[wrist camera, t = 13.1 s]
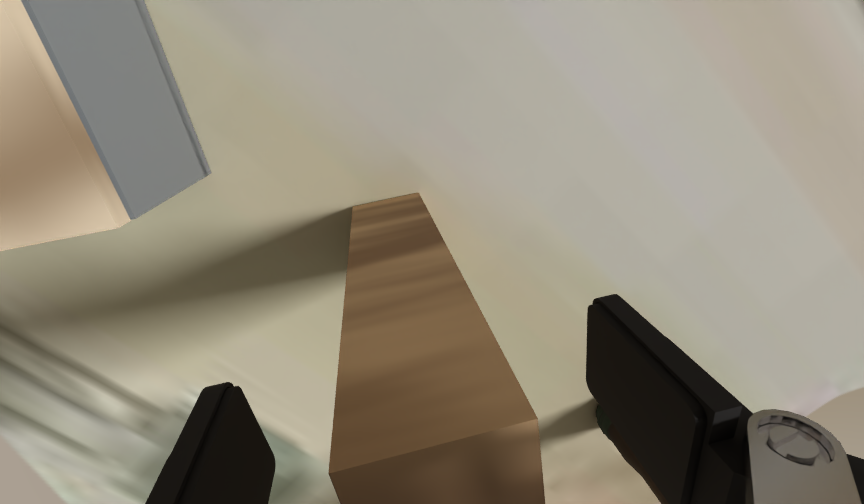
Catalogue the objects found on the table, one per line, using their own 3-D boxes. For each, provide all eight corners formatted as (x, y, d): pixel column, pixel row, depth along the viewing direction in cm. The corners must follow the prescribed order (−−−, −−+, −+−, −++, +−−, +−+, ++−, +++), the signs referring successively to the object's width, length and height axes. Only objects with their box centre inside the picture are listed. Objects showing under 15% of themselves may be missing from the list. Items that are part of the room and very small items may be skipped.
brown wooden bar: (352, 206, 24) (328, 473, 7) (418, 192, 24) (537, 418, 8) (368, 266, 25) (377, 596, 9) (429, 252, 26) (549, 546, 9)
